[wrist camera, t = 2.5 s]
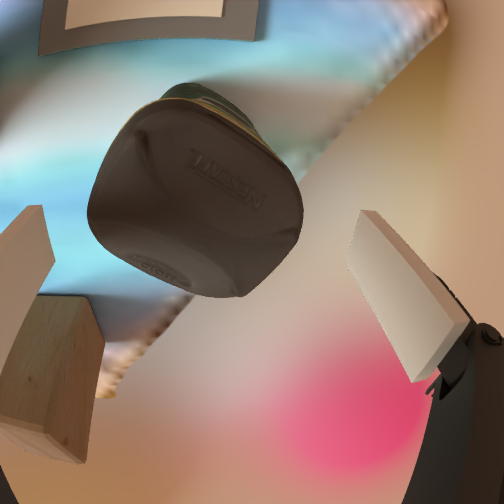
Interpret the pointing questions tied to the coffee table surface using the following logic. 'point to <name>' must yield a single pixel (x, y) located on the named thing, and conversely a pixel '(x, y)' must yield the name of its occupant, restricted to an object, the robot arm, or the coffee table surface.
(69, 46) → the grey square frame
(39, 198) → the coffee table surface
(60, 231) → the coffee table surface
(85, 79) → the coffee table surface
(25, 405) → the wooden block
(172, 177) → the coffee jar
